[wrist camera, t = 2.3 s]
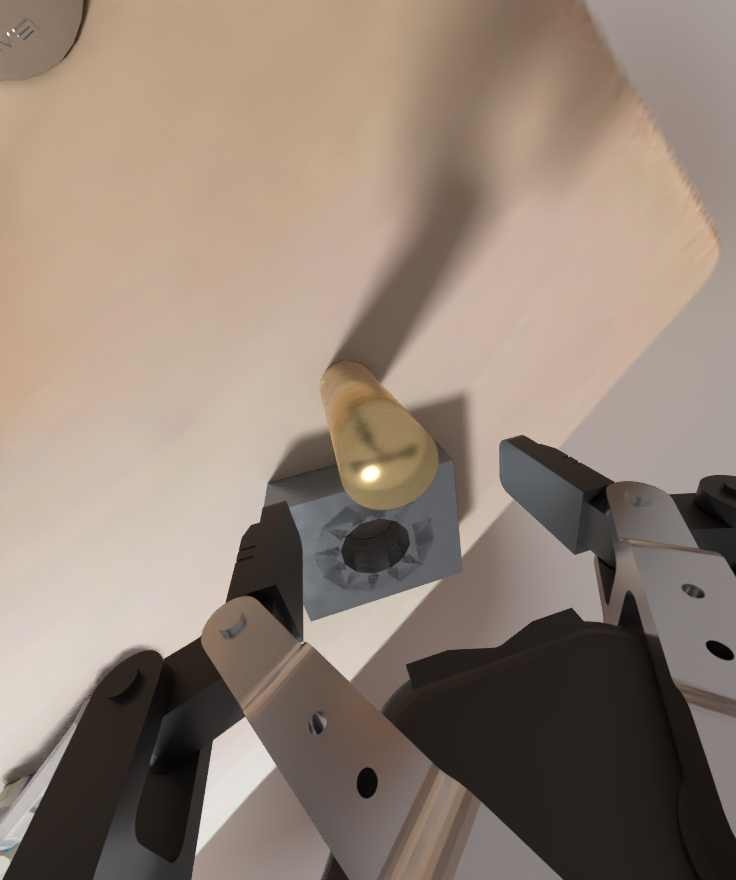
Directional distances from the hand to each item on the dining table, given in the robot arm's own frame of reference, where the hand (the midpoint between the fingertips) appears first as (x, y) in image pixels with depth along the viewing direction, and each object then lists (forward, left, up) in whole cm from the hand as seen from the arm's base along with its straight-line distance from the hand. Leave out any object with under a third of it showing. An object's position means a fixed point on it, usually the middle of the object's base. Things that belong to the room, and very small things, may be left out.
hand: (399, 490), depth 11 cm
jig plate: (+12, -1, -13) cm, 18 cm away
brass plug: (0, 0, -13) cm, 13 cm away
